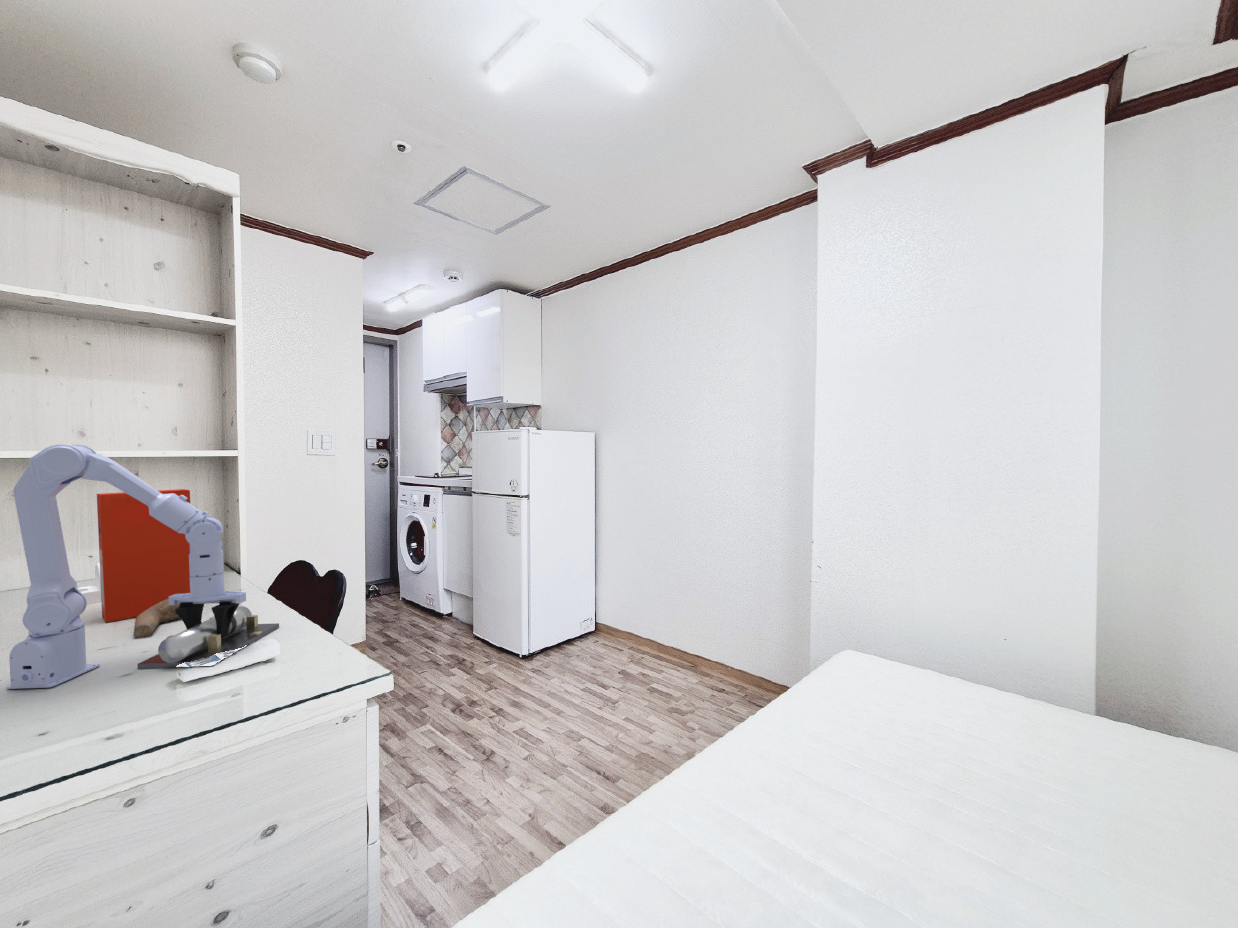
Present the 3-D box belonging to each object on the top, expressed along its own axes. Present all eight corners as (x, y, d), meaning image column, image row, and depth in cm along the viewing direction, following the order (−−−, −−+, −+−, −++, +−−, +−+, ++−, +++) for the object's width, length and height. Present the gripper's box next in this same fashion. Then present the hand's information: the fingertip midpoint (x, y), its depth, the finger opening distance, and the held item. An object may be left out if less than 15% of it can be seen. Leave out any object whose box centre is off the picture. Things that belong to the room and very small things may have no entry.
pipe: (125, 621, 115) (182, 605, 121) (133, 603, 128) (185, 589, 134) (133, 647, 116) (189, 630, 122) (140, 627, 129) (191, 613, 135)
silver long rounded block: (185, 662, 101) (184, 634, 100) (158, 663, 100) (157, 635, 100) (252, 626, 121) (251, 603, 120) (230, 627, 120) (229, 603, 120)
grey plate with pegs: (212, 666, 102) (211, 643, 101) (137, 668, 101) (136, 646, 101) (279, 627, 124) (278, 608, 123) (218, 629, 123) (217, 610, 123)
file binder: (102, 616, 133) (96, 493, 132) (187, 601, 146) (183, 488, 145) (105, 623, 128) (100, 495, 127) (194, 606, 141) (190, 490, 140)
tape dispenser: (151, 594, 154) (150, 558, 154) (63, 609, 140) (61, 570, 140) (145, 589, 160) (143, 554, 160) (60, 602, 146) (58, 565, 146)
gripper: (254, 568, 114) (256, 629, 115) (186, 570, 113) (188, 631, 114) (232, 576, 107) (234, 640, 108) (159, 578, 106) (162, 643, 107)
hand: (209, 636), depth 110 cm, fingers closed on silver long rounded block, 5 cm apart
